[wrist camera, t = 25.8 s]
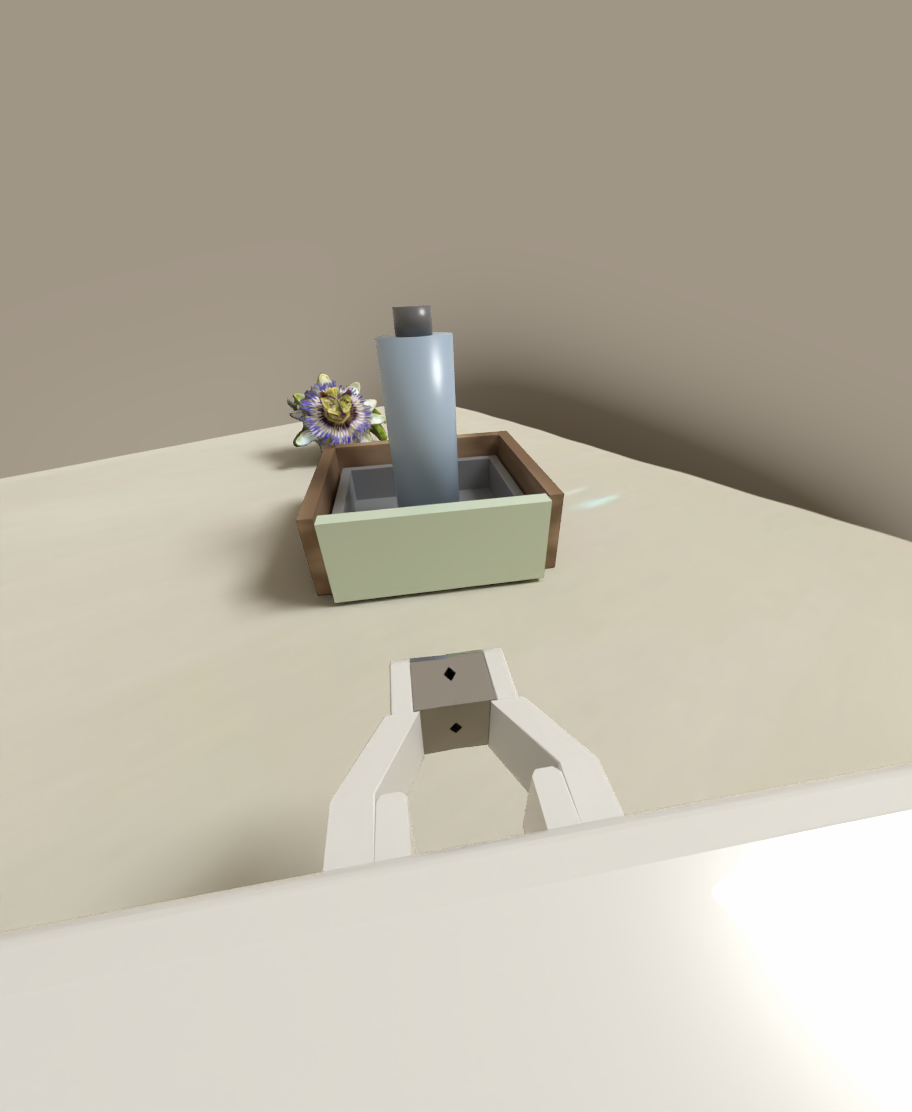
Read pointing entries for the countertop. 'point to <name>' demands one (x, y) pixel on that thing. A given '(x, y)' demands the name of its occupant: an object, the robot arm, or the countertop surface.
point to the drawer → (431, 534)
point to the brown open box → (378, 453)
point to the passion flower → (336, 415)
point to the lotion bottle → (420, 408)
